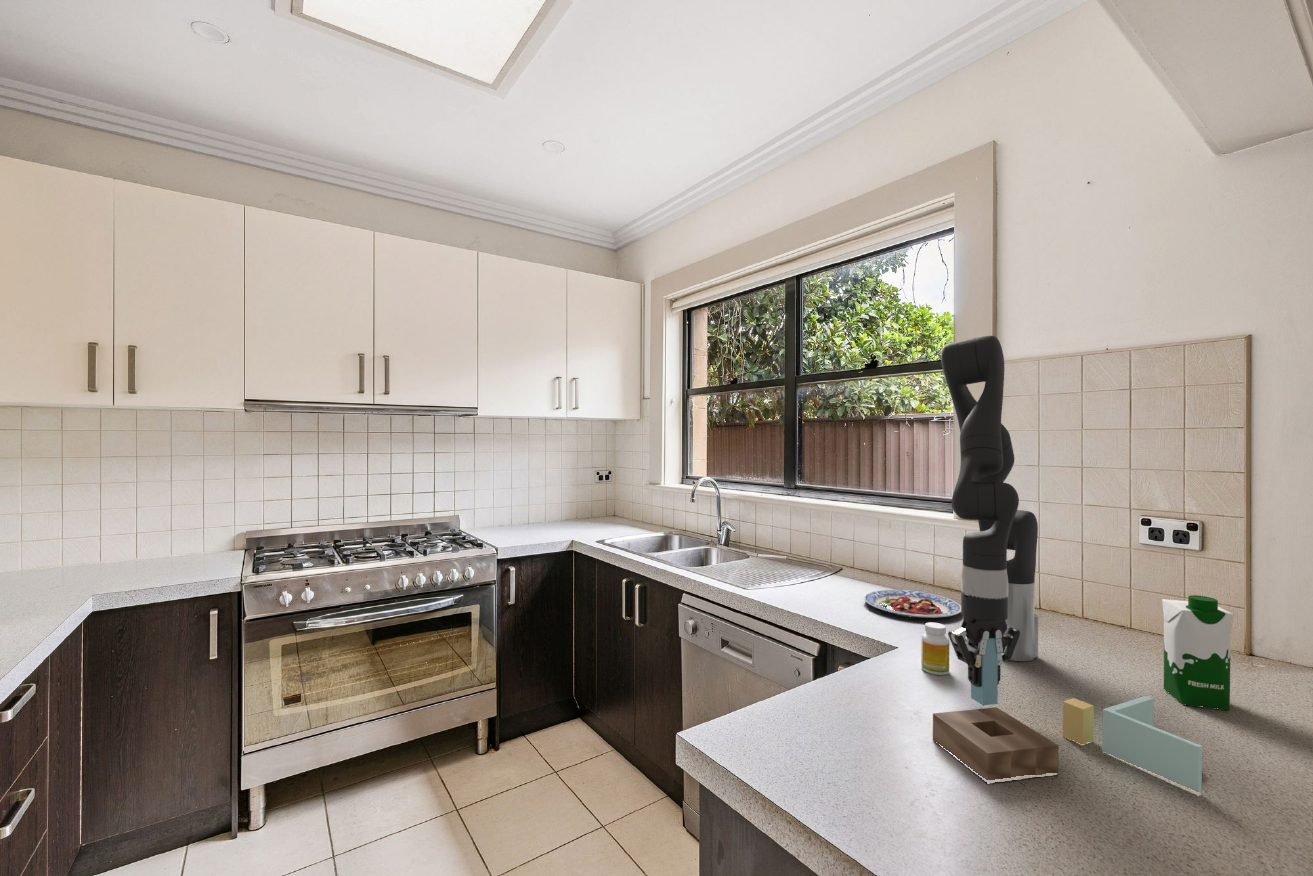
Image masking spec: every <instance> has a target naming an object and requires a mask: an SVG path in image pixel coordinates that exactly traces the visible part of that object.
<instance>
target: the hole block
mask: <svg viewBox="0 0 1313 876" xmlns="http://www.w3.org/2000/svg"><path fill="white" fill-rule="evenodd" d="M933 740H934V741H935V742H937V743H938V744H940V745H941V746H943V748H945V749H946V750H948V751H949V752H951V753H952V754H953V755H955V756H956V757H957V758H958V759H960V761H962V762H963V763H964V764H966V765H967V766H968V767H970V768H971V769H973V771H975V772H976V773H978V775H980V776H982V777H983V778H985V779H986V780H995V779H1003V778H1011V777H1016V776H1024V775H1042V774H1046V773H1058V774H1059V747H1060V745H1059V744H1057V743H1055V742H1054V741H1053V740H1051V739H1049V738H1048V737H1046V736H1044V735H1043V734H1041V733H1039V732H1037V731H1036V730H1035V729H1033V728H1031V727H1030V726H1028V725H1027V724H1024V722H1022V721H1020V720H1018V719H1017V718H1015V717H1014V716H1011V714H1009V713H1007V712H1005V711H1003V710H1001V709H1000V707H997V706H996V707H985V708H977V709H976V708H974V709H967V710H965V709H964V710H955V711H945V712H944V711H943V712H937V713H936V712H935V713H934V712H933V713H932V741H933ZM934 741H933V742H934ZM935 742H934V743H935ZM938 744H937V745H938ZM943 748H942V749H943Z"/></svg>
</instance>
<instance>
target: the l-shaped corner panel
mask: <svg viewBox="0 0 1313 876" xmlns="http://www.w3.org/2000/svg"><path fill="white" fill-rule="evenodd" d="M1154 699H1155V698H1154V697H1151V696H1148V695H1144V696H1141V697H1138V698H1134V699H1130V700H1127V701H1124V702H1122V703H1119V704H1115V705H1113V706H1109V707H1105V708H1102V750H1101V751H1103V752H1106V753H1107V754H1111V755H1113V756H1115V757H1117V758H1119V759H1122V760H1124V761H1126V762H1128V763H1131V764H1133V765H1136V766H1137V767H1141V768H1143V769H1146V770H1147V771H1151V772H1152V773H1155V774H1157V775H1160V776H1163V777H1164V778H1167V779H1168V780H1171V781H1173V782H1176V783H1177V784H1180V785H1182V786H1185V787H1187V788H1190V789H1192V790H1195V791H1196V792H1200V791H1201V792H1202V780H1203V778H1202V777H1203V776H1202V775H1203V774H1202V771H1203V745H1202V744H1198V743H1196V742H1194V741H1191V740H1188V739H1185V738H1183V737H1181V736H1178V735H1175V734H1173V733H1170V732H1167V731H1166V730H1162V729H1160V728H1158V727H1155V726H1154V717H1155V716H1154V713H1155V712H1154V705H1155V704H1154V702H1155V700H1154Z"/></svg>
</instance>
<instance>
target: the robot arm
mask: <svg viewBox="0 0 1313 876" xmlns="http://www.w3.org/2000/svg"><path fill="white" fill-rule="evenodd" d="M1004 357H1005V356H1004V352H1003V346H1002V345H1001V342H1000V340H999V339H998V337H996V336H994V335H985V336H984V335H983V336H979V337H975V338H969V339H964V340H958V341H955V342H951V343H947V344H944V345H943V347H942V348H941V351H940V361H941V367H942V371H943V376H944V379H945V382H946V384H947V388H948V391H949V394H950V397H951V400H952V401H951V402H952V404H953V407H954V410H955V414H956V419H957V422H958V427H959V432H960V435H959V447H960V448H959V449H960V450H959V451H960V465H959V474H958V477H957V481H956V483H955V487H954V490H953V494H952V497H951V507H952V511H953V512H954V513H955V515H956V516H957V517H958V518H960V519H963V520H968V521H978V527H979V531H974V532H969V533H966V534H964V536H963V539H962V569H961V575H960V580H961V581H960V583H961V584H960V606H961V612H960V613H961V614H962V617H963V619H962V623H961V624H960V625H961V626H960V628H959V629H956V630H955V631H954V630H949V631H948V633H947V635H948V636H947V637H948V638H949V642H950V643H951V646H952V648H953V650H954V652H955V655H956V657H957V660H959V661H961V662H963V663H964V664H966V665H967V679H968V681H969V683H970V685H971V684H973V685H974V686H976V687H981V686H982V667H980V666H981V662H982V655H985V651H986V644H987V640H988V638H994V640H995V647H996V653H997V654H998V685H999V684H1000V681H1001V666H1002V664H1003V663H1004V662H1010V661H1013V662H1014V661H1015V662H1030V661H1032V660H1034V659H1035V658H1038V657H1039V616H1038V614H1037V613H1035V598H1036V597H1035V596H1036V595H1035V593H1036V592H1035V591H1036V589H1035V588H1036V586H1035V582H1036V578H1035V577H1036V570H1037V569H1036V567H1037V548H1038V547H1037V546H1038V538H1039V537H1038V535H1039V534H1038V533H1039V527H1038V520H1037V517H1036V514H1034V512H1031V511H1028V510H1021V509H1018V508H1019V505H1020V504H1019V503H1020V498H1019V494H1018V492H1017V489H1016V487H1014V486H1013V485H1011V484H1010V483H1007V482H1005V480H1006V479H1007V478H1008V476H1009V474H1010V473H1011V471H1012V469H1013V467H1014V466H1015V465H1014V464H1015V454H1014V448H1013V443H1012V439H1011V434H1010V431H1009V430H1008V429H1007V428H1006V426H1005V425H1004V424H1003V423H1002V414H1003V412H1002V411H1003V400H1004V387H1005V386H1004V383H1005V358H1004ZM983 382H984V383H985V384H984V388H983V390H982V393H981V394H980V397H979V399H978V401H977V400H976V399H975V397H974V396H973V394H972V392H971V391H970V390H969V387H968V386H967V385H971V384H972V385H973V384H978V383H983ZM1009 550H1010V551H1014V555H1013V558H1011V559H1009V560H1008V556H1007V555H1008V551H1009ZM973 645H975V646H977V647H978V648H976V647H974V646H973ZM974 653H975V657H974Z"/></svg>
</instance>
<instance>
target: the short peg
mask: <svg viewBox="0 0 1313 876" xmlns="http://www.w3.org/2000/svg"><path fill="white" fill-rule="evenodd" d="M1062 703H1063V704H1062V737H1063V736H1064V737H1066V738H1069V739H1071V740H1074V741H1075V742H1078V743H1080V744H1086V743H1087V742H1091V741H1092V740H1093V741H1094V717H1095V716H1094V709H1095V708H1094V705H1093V704H1091V703H1088V702H1086V701H1082V700H1080V699H1077V698H1075V697H1072V698H1070V699H1067V700H1064V701H1062ZM1066 738H1065V739H1066Z"/></svg>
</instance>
